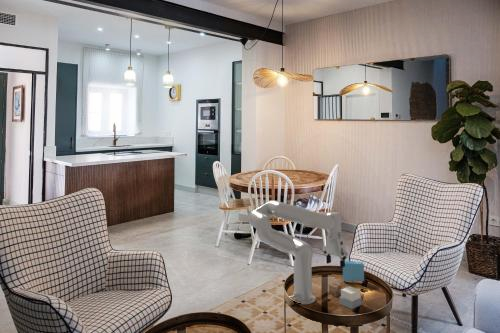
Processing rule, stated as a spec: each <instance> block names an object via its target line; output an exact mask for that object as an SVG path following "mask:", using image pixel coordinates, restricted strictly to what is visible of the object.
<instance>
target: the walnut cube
mask: <svg viewBox="0 0 500 333" xmlns="http://www.w3.org/2000/svg"><path fill="white" fill-rule="evenodd" d="M341 289H343V285H342V284H340V283H337V282H332V283H330V284H328V294H330V295H333V296H335V297H338V296H341Z"/></svg>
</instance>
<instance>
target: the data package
mask: <svg viewBox="0 0 500 333" xmlns="http://www.w3.org/2000/svg"><path fill="white" fill-rule="evenodd" d="M342 280H343V282H344V281H364V282H365V264H364V262H362V261H355V260H354V261H353V260H352V261H351V260H345V267H343V268H342Z"/></svg>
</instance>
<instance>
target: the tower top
mask: <svg viewBox="0 0 500 333" xmlns="http://www.w3.org/2000/svg"><path fill="white" fill-rule="evenodd" d="M361 294H362V293H361V289H358V288H356V287H352V286H351V285H349V286H348V287H347V286H346V287H344V288H342V289H341V294H340V297H342V298H344V299H347V300H349V301H351V302H352V301H354V300H357V299H359V298H362V297H361Z"/></svg>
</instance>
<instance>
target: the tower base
mask: <svg viewBox="0 0 500 333" xmlns="http://www.w3.org/2000/svg"><path fill="white" fill-rule="evenodd" d="M362 302H363V300H362V297H361V298H359V299H357V300H354V301H352V302H351V301H349V300H347V299H344V298H342V297H341V296H339V297H338V304H339V305H340V306H343V307H345V308H348V309H349V310H353V309H355V308H357V307H360V306H362Z"/></svg>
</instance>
